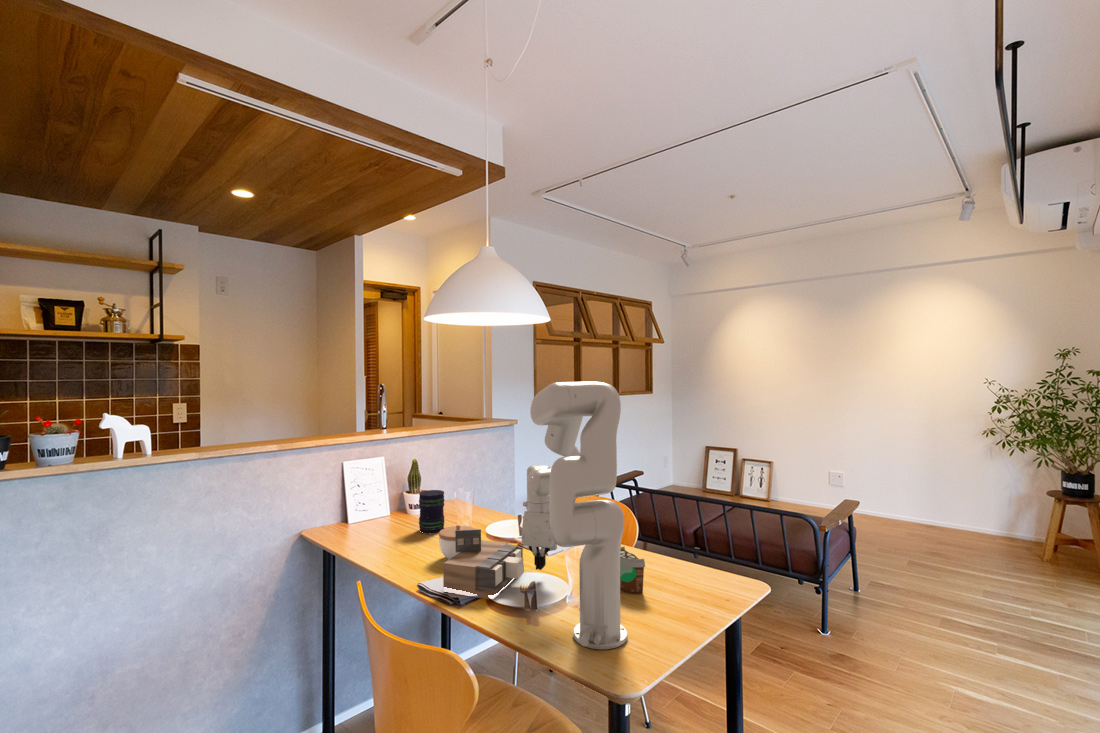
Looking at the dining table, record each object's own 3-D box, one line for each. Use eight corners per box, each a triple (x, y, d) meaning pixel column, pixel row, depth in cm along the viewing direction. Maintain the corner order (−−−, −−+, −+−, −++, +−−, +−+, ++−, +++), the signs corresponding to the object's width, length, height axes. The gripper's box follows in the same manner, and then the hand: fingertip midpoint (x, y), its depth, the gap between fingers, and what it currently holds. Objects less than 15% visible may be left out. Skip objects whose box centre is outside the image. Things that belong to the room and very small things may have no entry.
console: (493, 600, 143) (492, 545, 143) (438, 591, 148) (438, 539, 149) (523, 571, 163) (523, 524, 164) (475, 565, 169) (475, 519, 169)
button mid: (517, 578, 150) (517, 563, 150) (501, 576, 152) (501, 561, 152) (523, 573, 154) (523, 558, 154) (507, 571, 156) (507, 556, 156)
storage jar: (415, 534, 203) (415, 495, 203) (422, 526, 213) (422, 489, 213) (441, 534, 203) (441, 495, 203) (447, 526, 213) (447, 489, 213)
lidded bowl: (432, 557, 176) (432, 524, 177) (464, 549, 185) (464, 518, 185) (450, 568, 167) (450, 533, 167) (484, 559, 175) (484, 525, 175)
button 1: (495, 586, 144) (495, 570, 145) (479, 584, 146) (479, 568, 146) (502, 580, 149) (502, 565, 149) (486, 578, 150) (486, 563, 150)
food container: (605, 582, 154) (605, 548, 155) (623, 579, 157) (623, 545, 157) (625, 599, 143) (625, 562, 143) (645, 595, 145) (645, 559, 145)
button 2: (515, 568, 158) (515, 554, 158) (500, 566, 159) (500, 552, 159) (521, 563, 162) (521, 549, 162) (506, 561, 163) (506, 547, 164)
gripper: (511, 507, 157) (512, 569, 156) (559, 511, 152) (559, 575, 151) (521, 502, 164) (521, 561, 163) (566, 505, 159) (567, 566, 158)
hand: (540, 568), depth 157 cm, fingers closed
